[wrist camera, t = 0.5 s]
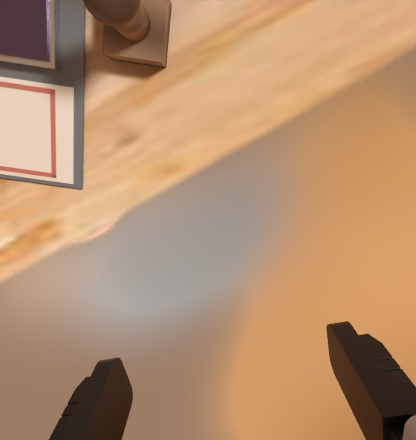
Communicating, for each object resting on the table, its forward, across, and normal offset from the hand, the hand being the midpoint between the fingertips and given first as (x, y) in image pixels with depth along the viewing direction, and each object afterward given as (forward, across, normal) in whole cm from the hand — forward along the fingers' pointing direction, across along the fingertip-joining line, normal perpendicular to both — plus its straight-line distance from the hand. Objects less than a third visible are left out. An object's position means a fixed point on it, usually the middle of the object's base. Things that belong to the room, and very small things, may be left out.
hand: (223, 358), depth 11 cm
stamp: (+27, +4, -19) cm, 33 cm away
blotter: (+27, +20, -18) cm, 38 cm away
